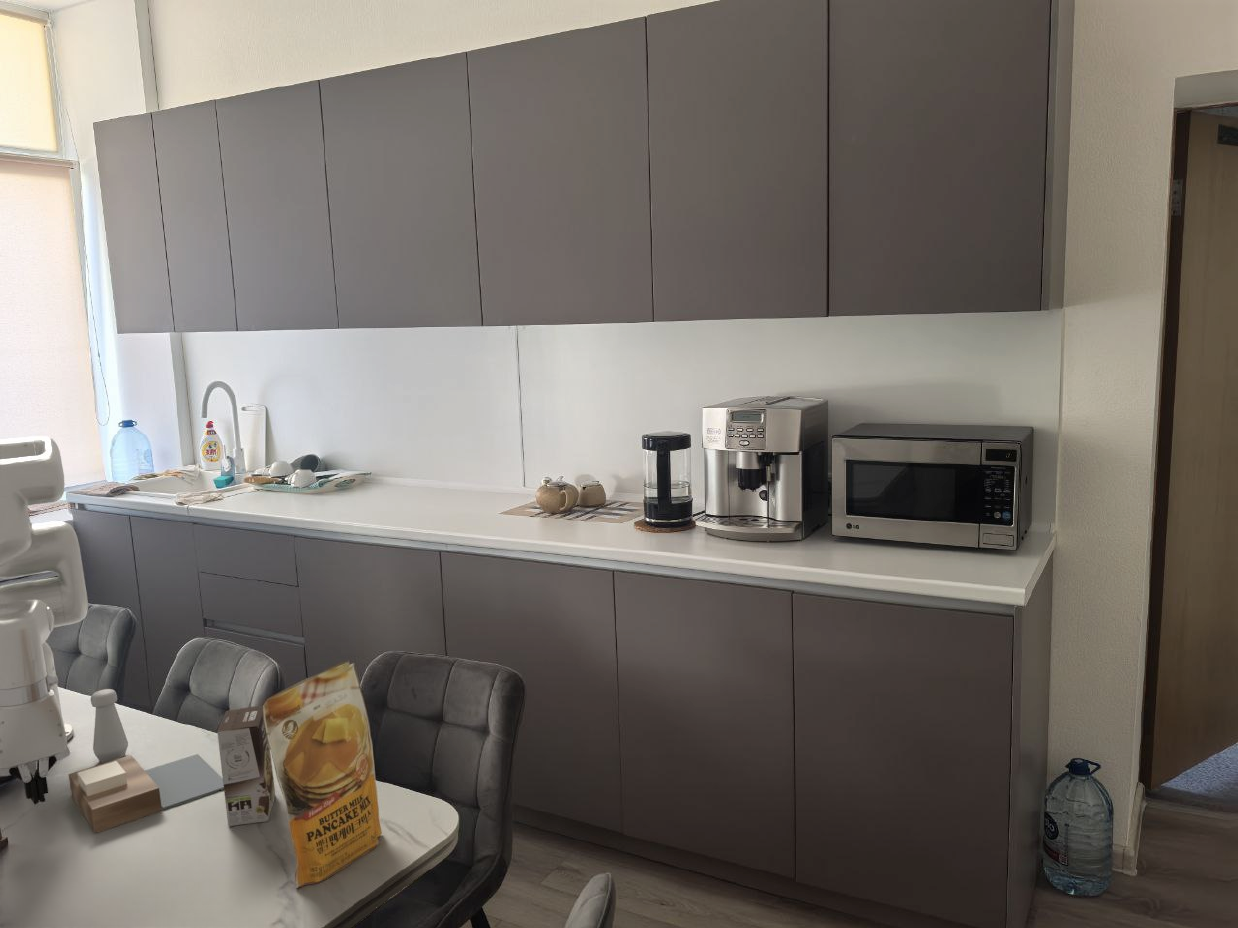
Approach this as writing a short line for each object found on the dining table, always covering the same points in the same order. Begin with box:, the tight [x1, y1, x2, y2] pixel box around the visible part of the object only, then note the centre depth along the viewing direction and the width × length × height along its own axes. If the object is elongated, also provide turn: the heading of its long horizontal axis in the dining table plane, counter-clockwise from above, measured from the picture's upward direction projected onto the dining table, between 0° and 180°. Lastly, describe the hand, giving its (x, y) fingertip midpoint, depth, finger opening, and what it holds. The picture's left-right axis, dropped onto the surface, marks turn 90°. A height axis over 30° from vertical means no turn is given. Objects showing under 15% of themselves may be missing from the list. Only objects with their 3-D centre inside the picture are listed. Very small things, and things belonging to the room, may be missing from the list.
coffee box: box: [217, 705, 276, 827], centre depth 162 cm, size 9×6×16 cm
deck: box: [68, 754, 163, 834], centre depth 168 cm, size 17×10×4 cm, turn 40°
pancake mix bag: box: [262, 660, 383, 889], centre depth 145 cm, size 7×19×28 cm, turn 147°
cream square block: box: [77, 761, 127, 796], centre depth 166 cm, size 6×6×2 cm
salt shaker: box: [90, 688, 129, 764], centre depth 184 cm, size 6×6×13 cm
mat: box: [144, 753, 224, 811], centre depth 174 cm, size 17×11×1 cm, turn 40°
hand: (38, 799), depth 160 cm, fingers closed
